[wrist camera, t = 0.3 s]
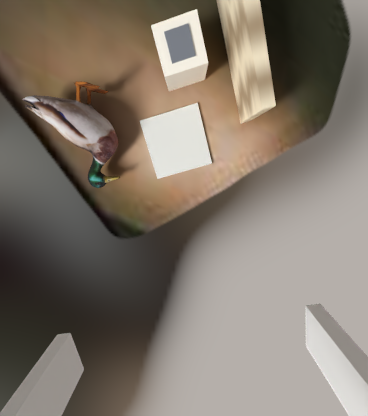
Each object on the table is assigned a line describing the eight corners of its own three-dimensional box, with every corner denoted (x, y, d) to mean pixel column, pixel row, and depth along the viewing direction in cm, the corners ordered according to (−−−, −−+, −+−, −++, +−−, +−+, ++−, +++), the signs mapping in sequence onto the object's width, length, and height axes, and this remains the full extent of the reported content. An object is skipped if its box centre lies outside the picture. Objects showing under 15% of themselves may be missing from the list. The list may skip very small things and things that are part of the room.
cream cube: (158, 50, 31) (150, 24, 25) (195, 37, 30) (196, 7, 24) (169, 91, 32) (164, 76, 26) (204, 80, 32) (208, 61, 26)
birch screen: (212, -20, 28) (225, -113, 19) (223, -24, 28) (241, -119, 18) (240, 123, 33) (262, 109, 23) (250, 120, 33) (275, 105, 23)
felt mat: (140, 121, 33) (139, 120, 33) (197, 103, 32) (197, 102, 32) (157, 178, 36) (157, 178, 35) (211, 163, 35) (212, 163, 34)
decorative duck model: (110, 198, 30) (9, 179, 29) (124, 186, 37) (43, 170, 36) (118, 88, 25) (-4, 60, 24) (133, 98, 32) (39, 77, 31)
